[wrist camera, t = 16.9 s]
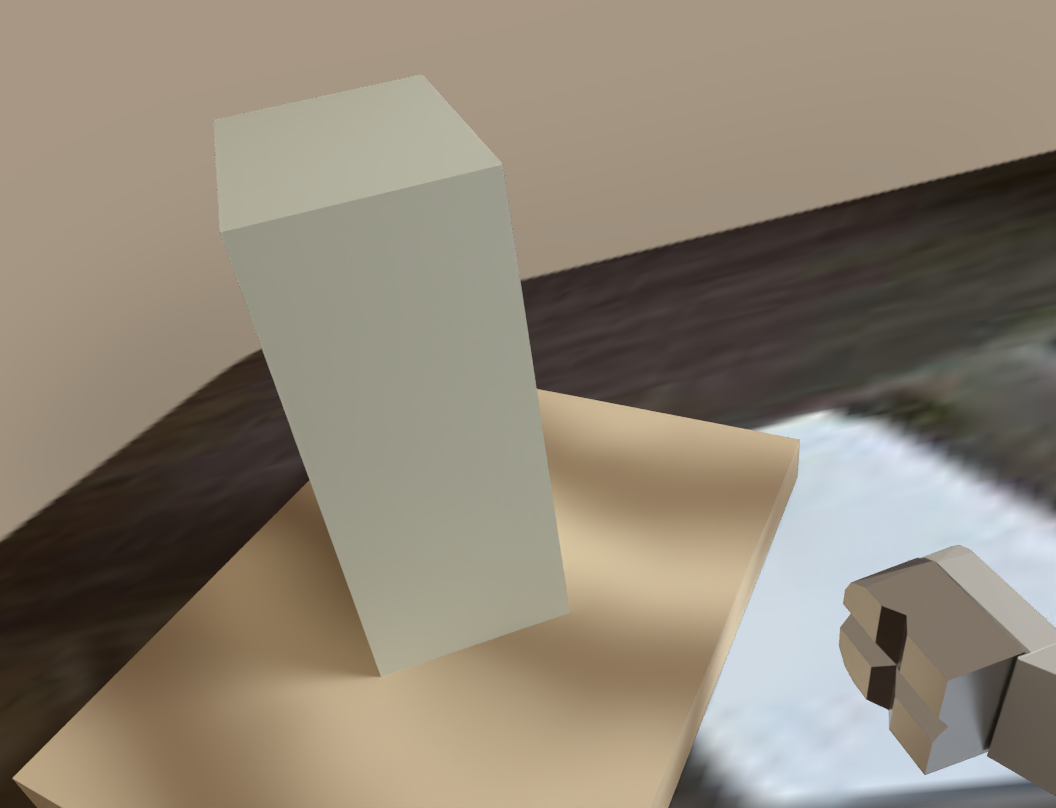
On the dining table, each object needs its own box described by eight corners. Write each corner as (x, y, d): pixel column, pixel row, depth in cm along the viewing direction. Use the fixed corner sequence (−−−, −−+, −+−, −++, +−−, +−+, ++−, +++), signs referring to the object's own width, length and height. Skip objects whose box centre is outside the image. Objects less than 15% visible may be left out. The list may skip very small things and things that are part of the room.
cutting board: (429, 399, 34) (422, 366, 33) (797, 476, 28) (800, 439, 27) (40, 812, 22) (12, 778, 21) (547, 1116, 15) (537, 1085, 15)
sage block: (493, 450, 28) (419, 71, 21) (569, 612, 23) (503, 164, 16) (341, 496, 27) (213, 116, 20) (381, 676, 22) (219, 232, 15)
